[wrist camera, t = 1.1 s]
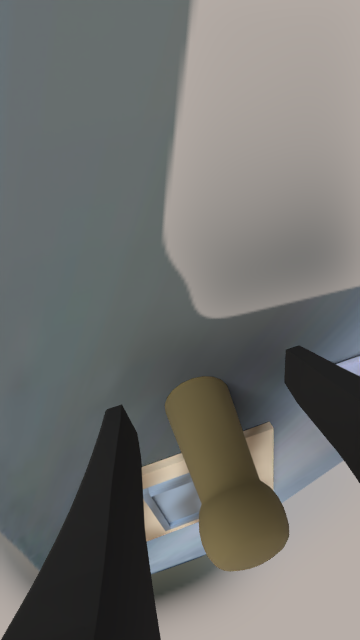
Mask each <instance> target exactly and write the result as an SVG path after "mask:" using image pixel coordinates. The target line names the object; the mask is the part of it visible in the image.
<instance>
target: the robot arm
mask: <svg viewBox="0 0 360 640" xmlns="http://www.w3.org/2000/svg"><path fill="white" fill-rule="evenodd" d="M285 384H286V386H287V387H288V389H289V390H290V392H291V394H292V395H293V397H294V398H295V400H296V401H297V403H298V404H299V405H300V407H301V408H302V409H303V410H304V412H305V413H306V414H307V415H308V416H309V418H310V419H311V420H312V421H313V423H314V424H315V425H316V426H317V427H318V429H319V430H320V431H321V432H322V433H323V435H324V436H325V437H326V438H327V440H328V441H329V442H330V443H331V444H332V446H333V447H334V448H335V449H336V450H337V452H338V453H339V454H340V456H341V457H342V458H343V460H344V461H345V462H346V464H347V465H348V467H349V468H350V470H351V471H352V472H353V474H354V475H355V476H356V478H357V480H358V481H359V483H360V356H358V357H355V358H352V359H350V360H347V361H344V362H341V363H338V364H334V363H332V362H330V361H328V360H326V359H324V358H322V357H320V356H319V355H317V354H315V353H313V352H311V351H309V350H307V349H305V348H303V347H301V346H296V347H293V348H290V349H287V350H286V358H285ZM1 640H161V639H160V633H159V626H158V619H157V613H156V607H155V600H154V594H153V586H152V579H151V572H150V565H149V558H148V550H147V542H146V534H145V522H144V502H143V483H142V464H141V454H140V448H139V442H138V436H137V432H136V430H135V428H134V426H133V425H132V423H131V421H130V419H129V417H128V415H127V413H126V411H125V410H124V408H123V406H122V405H119V406H116V407H113V408H110V409H107V410H106V412H105V415H104V419H103V422H102V426H101V429H100V432H99V435H98V438H97V441H96V444H95V447H94V450H93V453H92V456H91V459H90V461H89V464H88V467H87V470H86V472H85V475H84V477H83V480H82V482H81V485H80V487H79V490H78V492H77V495H76V497H75V499H74V502H73V504H72V506H71V509H70V511H69V513H68V515H67V518H66V520H65V522H64V524H63V526H62V528H61V530H60V532H59V535H58V537H57V539H56V541H55V543H54V545H53V547H52V549H51V551H50V552H49V554H48V556H47V558H46V560H45V562H44V564H43V566H42V568H41V570H40V572H39V574H38V576H37V577H36V579H35V581H34V583H33V585H32V587H31V589H30V590H29V592H28V594H27V596H26V597H25V599H24V601H23V603H22V604H21V606H20V608H19V610H18V611H17V613H16V615H15V616H14V618H13V620H12V622H11V624H10V625H9V627H8V629H7V631H6V632H5V634H4V636H3V637H2V639H1Z"/></svg>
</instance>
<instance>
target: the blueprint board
mask: <svg viewBox="0 0 360 640" xmlns="http://www.w3.org/2000/svg"><path fill="white" fill-rule="evenodd" d="M243 433H244V436H245V439H246V442H247V444H248V447H249V450H250V453H251V456H252V459H253V462H254V465H255V468H256V470H257V473H258V476H259V479H260V480H261V481H262V482H264V483H265V484H267V485H268V486H270V487H271V488H272V490H273V449H274V428H273V426H272V425H271V423H270V422H268V423H265V424H262V425H259V426H256V427H254V428H251V429H248V430H245V431H243ZM142 483H143V502H144V522H145V534H146V542H147V541H149V540H152V539H155V538H157V537H160V536H162V535H165V534H168V533H170V532H173V531H176V530H178V529H181V528H183V527H186V526H189V525H191V524H194V523H197V522H199V511H200V508H201V501H200V499H199V496H198V493H197V491H196V488H195V486H194V483H193V481H192V478H191V476H190V473H189V470H188V468H187V465H186V463H185V460H184V458H183V455H182V453H180V454H177V455H175V456H172V457H169V458H166V459H163V460H161V461H158V462H155V463H152V464H149V465H146V466H144V467H142Z"/></svg>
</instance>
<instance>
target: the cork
mask: <svg viewBox="0 0 360 640" xmlns="http://www.w3.org/2000/svg"><path fill="white" fill-rule="evenodd" d="M165 411H166V414H167V417H168V419H169V422H170V425H171V427H172V430H173V432H174V435H175V437H176V440H177V442H178V445H179V448H180V450H181V453H182V455H183V458H184V460H185V463H186V465H187V468H188V470H189V473H190V476H191V478H192V481H193V483H194V486H195V488H196V491H197V493H198V496H199V499H200V501H201V508H200V511H199V532H200V537H201V541H202V545H203V547H204V549H205V552H206V554H207V556H208V557H209V559H210V560H211V561H212V562H213V563H214V565H215V566H216V567H218V568H219V569H222V570H224V571H240V570H245V569H250V568H253V567H255V566H258V565H261V564H263V563H264V562H266V561H268V560H270V559H271V558H272V557H274V556H275V555H276V554H277V553H278V552H280V551H281V550H282V549H283V548H284V546H285V544H286V542H287V540H288V537H289V524H288V520H287V517H286V513H285V510H284V507H283V505H282V503H281V502H280V500H279V498H278V496H277V495H276V494H275V492H274V491H273V490H272V488H271V487H270V486H268V485H267V484H265V483H264V482H262V481H261V480H260V479H259V476H258V473H257V470H256V468H255V465H254V462H253V459H252V456H251V453H250V450H249V447H248V444H247V442H246V439H245V436H244V433H243V430H242V427H241V424H240V421H239V418H238V416H237V413H236V410H235V407H234V404H233V401H232V398H231V395H230V393H229V390H228V387H227V385H226V384H225V383H224V382H223V381H222V380H220V379H218V378H215V377H206V376H202V377H197V378H192V379H190V380H188V381H186V382H183V383H181V384H180V385H179V386H177V387H176V388H175V389H174V390H173V391H172V392H171V393H170V395H169V396H168V397H167V400H166V403H165Z"/></svg>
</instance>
